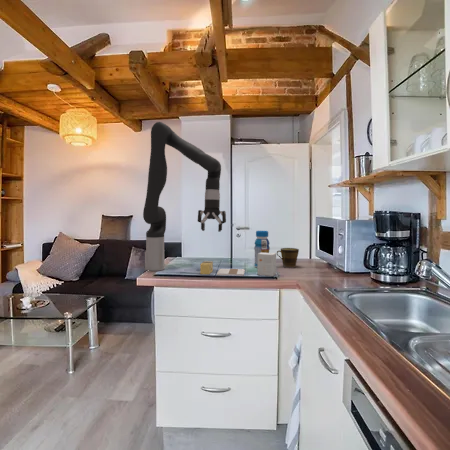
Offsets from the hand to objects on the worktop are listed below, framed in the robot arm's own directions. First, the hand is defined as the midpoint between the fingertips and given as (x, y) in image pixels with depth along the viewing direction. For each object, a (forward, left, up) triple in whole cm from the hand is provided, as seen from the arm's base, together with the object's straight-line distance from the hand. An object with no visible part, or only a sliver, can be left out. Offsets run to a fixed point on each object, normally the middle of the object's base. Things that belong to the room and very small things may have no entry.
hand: (211, 231), depth 152 cm
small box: (+28, -3, -21) cm, 35 cm away
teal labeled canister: (+26, +17, -21) cm, 37 cm away
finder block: (-2, -1, -21) cm, 21 cm away
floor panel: (+10, -1, -21) cm, 23 cm away
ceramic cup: (+40, +19, -21) cm, 49 cm away
